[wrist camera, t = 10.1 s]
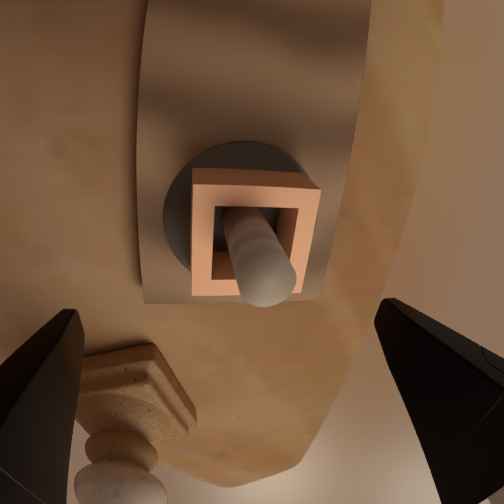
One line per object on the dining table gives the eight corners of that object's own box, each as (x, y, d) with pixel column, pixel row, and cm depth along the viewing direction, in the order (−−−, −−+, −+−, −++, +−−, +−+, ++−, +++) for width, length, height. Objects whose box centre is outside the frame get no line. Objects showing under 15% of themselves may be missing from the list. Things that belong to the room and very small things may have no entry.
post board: (166, -73, 10) (159, -147, 3) (362, -41, 13) (441, -76, 6) (146, 290, 22) (136, 381, 15) (311, 287, 24) (354, 365, 17)
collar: (192, 167, 16) (193, 184, 14) (301, 172, 18) (321, 189, 15) (190, 266, 19) (191, 296, 17) (286, 265, 21) (300, 292, 18)
